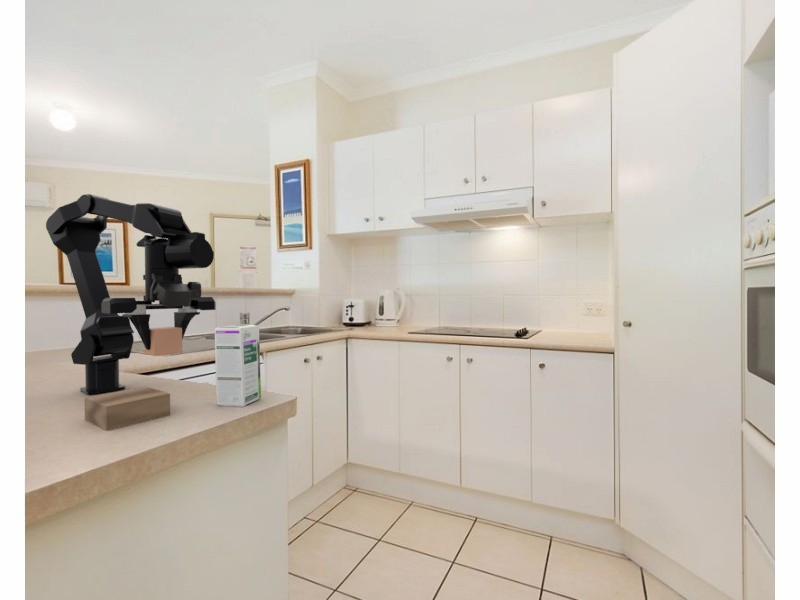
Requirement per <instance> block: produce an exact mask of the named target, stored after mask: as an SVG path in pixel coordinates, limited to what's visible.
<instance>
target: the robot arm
mask: <svg viewBox="0 0 800 600" xmlns="http://www.w3.org/2000/svg"><path fill="white" fill-rule="evenodd" d="M87 214H89V215H95V217H94V218H91V217H87V216H86V215H87ZM108 218H109V219H113V220H117V221H122V222H124V223H128V224H130V225H132V227H133V228H135V229H137V230H138V231H140V232H142V233H144V236H143V238H141V239H139V240H138V241H137V242H136V246H137V247H140V248H144V268H145V269H144V274H143V275H142V279H143V280H144V283H145V284H144V287H145V288H144V290H145V291H144V292H145V295H143V300H136V298H135V297H111V296H110V293H109V291H108V287H107V284H106V280H105V278H104V277H105V276H104V274H103V271H102V268H101V265H100V262H99V258H98V255H97V251H96V250H97V249H98V246H99V244H100V242H101V234H102V233H103V232H105V230H106V229H107V228H108V227H107V225H108ZM45 228H46V231H47V233H48V235H49V237H50V240H51V241H52V243H53V245H54V246H55V247H56V248H57V249H58V250H60V251H61V252H62V253H63V254H64V255H65V256H66V258H67V260H68V263H69V266H70V270H71V273H72V276H73V277H72V278H73V280H74V284H75V286H76V290H77V292H78V293H77V294H78V296H79V299H80V302H81V306H82V309H83V312H84V317H85V320H84V322H83V324H82V327H81V329H80V337H81V340H80V341H79V343H78V344H77V345H76V347H75V348H74V350H73V351H72V353H71V354H70V356H71V360H72V364H74V365H83V366H84V368H85V369H84V370H85V371H84V372H85V373H84V374H85V375H84V376H85V377H84V378H85V386H84V387H80V388H79V391H81V392H83V393H84V394H86V395H94V394H101V393H102V394H103V393H106V392H107V393H109V392H112V391H114V392H115V391H121V390H124V389H125V390H126V386H125V385H124V384H120V360H123V359H125V360H127V359H130V357H131V352H132V349H133V345H134V333H135V331H134V330H133V328H132V325H131V324H133V327H134V328H135V329H136V331H137V333H138V335H139V338H140V339H141V342H142V344H143V345H144V349H145V348H146V349H147V350H150V347H151V339H150V329H149V328H150V318H151V314H150V313H147V310H168V309H177V311H174V312H173V319H174V320H173V323H174V326H173V327H178V328H182V340H183V339H184V336H185V334H186V331H187V328H188V326H189V324H190V322H191V321H192V320H193V318H194V317H196V316H197V315H199V316H200V314H201V312H200V311H216V307H217V306H216V304H217V303H216V301H215V298H213V296H202V283H200V282H199V281H188V282H187V283H183V277H182V274H179V273H180V272H179V271H180V270H185V269H187V270H188V269H207V268H208V267H209V266H211V264H212V263H213V261H214V259H215V258H214V256H215V254H214V253H215V252H214V250H213V248H212V245H211V244H210V242H209V241H208V240H206V234H205V232H199V231H193V232H192V230H191V229H190V228H189V226H188V224H187V223H186V221H185V219H184V217H183V215H182V212H181V211H180V210H178V209H176V208H171V207H167V206H162V205H157V204H155V203H149V202H145V203H142V202H139V203H138V202H137V203H135V204H130V203H129V204H128V203H126V202H125V203H124V202H120V201H115V200H111V199H109V198H108V197H104V196H99V195H95V194H91V193H87V194H82V195H80V197H79V198H77V200H75V201H73V202H70V203H68V204H64V205H62V206H59V207H57V209H56V210H55V211H54V212H53V213H52V214H51V215H50V216H48V218H47V220H46V223H45ZM156 301H158V303H155V302H156ZM198 310H199V311H198ZM120 314H122V315H120Z"/></svg>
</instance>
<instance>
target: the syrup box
mask: <svg viewBox="0 0 800 600" xmlns="http://www.w3.org/2000/svg"><path fill="white" fill-rule="evenodd" d="M213 331H214V356H215V388H216V391H215V393H216V405H217V406H221V407H224V406H225V407H239V408H240V407H242V408H244V407H246V406H247V405H249V404H251V403H253V402H255V401H258V400H261V398H262V383H261V382H262V381H261V351H260V349H261V348H260V325H259V324H251V323H249V324H248V323H246V324H245V323H243V324H233V325H225V326H218V327H215V328H214V330H213Z"/></svg>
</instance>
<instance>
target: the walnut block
mask: <svg viewBox="0 0 800 600" xmlns="http://www.w3.org/2000/svg"><path fill="white" fill-rule="evenodd" d="M169 416H171V394H170V393H169V392H165V391H162V390H159V389H156V388H153V387H150V386H141V387H136V388H131V389H125V390H124V389H123V390H117V391H114V392H107V393H102V394H97V395H91V396H88V397H87V396H86V397H84V421H86V422H88V423H90V424H92V425H94V426H96V427H98V428H100V429H102V430H104V431H106V432H108V431H113V430H117V429H121V428H125V427H129V426H131V425H136V424H141V423H145V422H149V421H153V420H156V419H161V418H164V417H169Z"/></svg>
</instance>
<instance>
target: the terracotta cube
mask: <svg viewBox="0 0 800 600" xmlns="http://www.w3.org/2000/svg"><path fill="white" fill-rule="evenodd" d="M149 329H150V339H151V347H150V350H147V349H146V348H145V347H144V355H149V356H152V357H153V356H154V357H157V356H158V357H160V356H166V355H175V354H182V353H183V339H182V328H178V327H174V326H163V327H149Z"/></svg>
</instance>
